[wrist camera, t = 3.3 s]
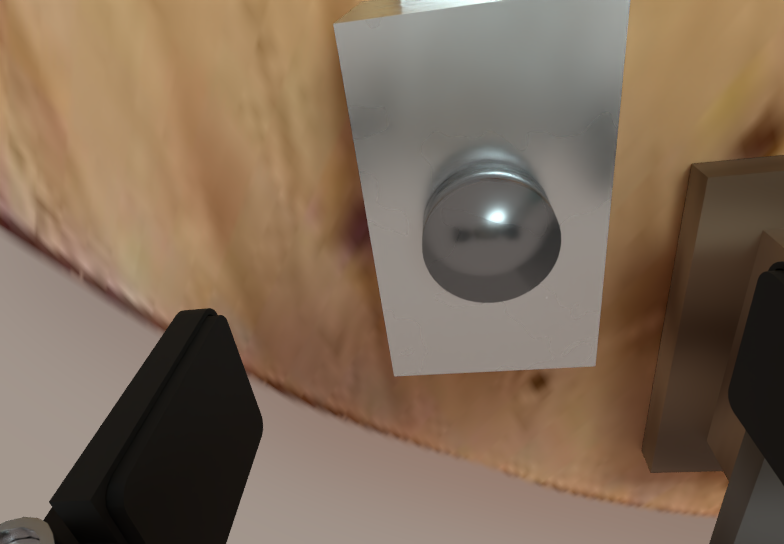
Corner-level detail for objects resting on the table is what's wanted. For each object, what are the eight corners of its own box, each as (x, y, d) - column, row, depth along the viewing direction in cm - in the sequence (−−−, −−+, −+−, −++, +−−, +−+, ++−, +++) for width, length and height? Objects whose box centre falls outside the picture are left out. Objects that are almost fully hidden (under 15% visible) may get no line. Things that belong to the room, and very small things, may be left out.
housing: (354, -46, 15) (309, -41, 9) (576, -81, 14) (662, -95, 9) (405, 311, 21) (396, 433, 16) (559, 301, 20) (603, 426, 15)
